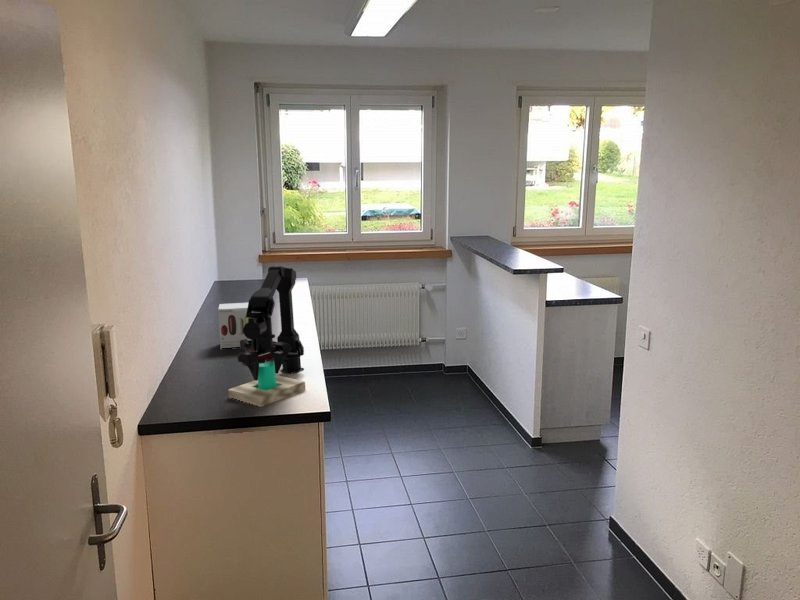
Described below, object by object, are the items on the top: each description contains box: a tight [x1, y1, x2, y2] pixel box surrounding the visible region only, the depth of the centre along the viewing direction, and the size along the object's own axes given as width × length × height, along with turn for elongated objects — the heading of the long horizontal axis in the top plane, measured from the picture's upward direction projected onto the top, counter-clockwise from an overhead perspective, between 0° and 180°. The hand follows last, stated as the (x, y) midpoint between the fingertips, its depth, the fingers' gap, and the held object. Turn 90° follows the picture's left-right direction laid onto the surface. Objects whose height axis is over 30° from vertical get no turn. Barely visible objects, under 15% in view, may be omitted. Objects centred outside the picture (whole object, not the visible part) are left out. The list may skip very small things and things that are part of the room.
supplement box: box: [217, 301, 260, 350], centre depth 287 cm, size 17×13×18 cm
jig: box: [227, 374, 306, 408], centre depth 221 cm, size 20×16×3 cm
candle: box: [258, 360, 276, 390], centre depth 220 cm, size 6×6×12 cm
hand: (266, 376), depth 220 cm, fingers open, 9 cm apart
